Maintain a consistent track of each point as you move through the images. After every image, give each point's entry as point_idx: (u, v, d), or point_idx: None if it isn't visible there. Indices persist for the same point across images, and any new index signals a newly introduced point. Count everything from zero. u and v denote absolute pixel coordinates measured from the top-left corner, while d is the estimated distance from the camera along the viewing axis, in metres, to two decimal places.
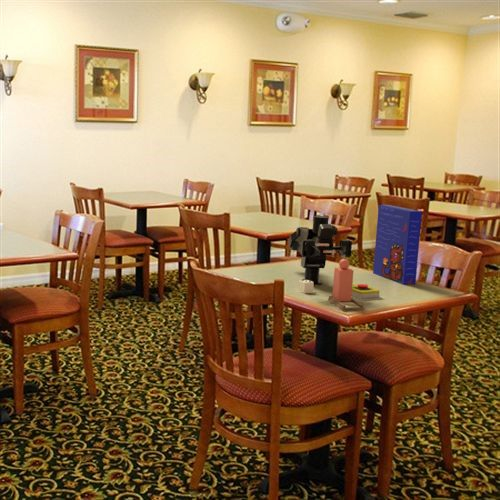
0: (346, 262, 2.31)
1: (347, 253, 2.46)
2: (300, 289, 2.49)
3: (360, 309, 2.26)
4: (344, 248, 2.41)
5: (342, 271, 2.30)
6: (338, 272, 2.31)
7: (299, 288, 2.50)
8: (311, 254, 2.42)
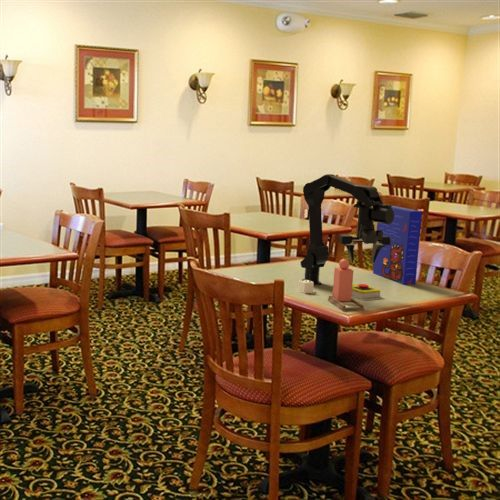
0: (346, 262, 2.31)
1: None
2: (300, 289, 2.49)
3: (360, 309, 2.26)
4: (376, 255, 2.46)
5: (342, 271, 2.30)
6: (338, 272, 2.31)
7: (299, 288, 2.50)
8: (347, 247, 2.47)
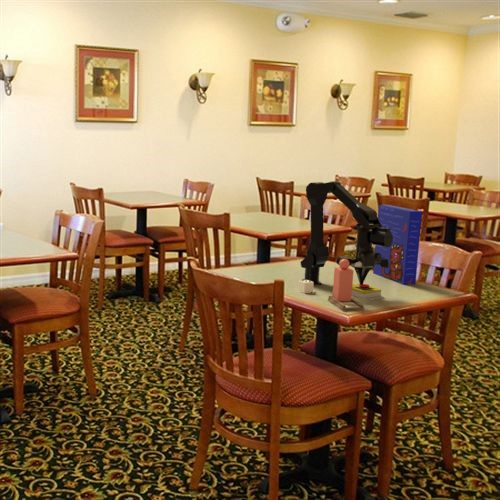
0: (346, 262, 2.31)
1: None
2: (300, 289, 2.49)
3: (360, 309, 2.26)
4: (364, 277, 2.47)
5: (342, 271, 2.30)
6: (338, 272, 2.31)
7: (299, 288, 2.50)
8: (355, 269, 2.49)
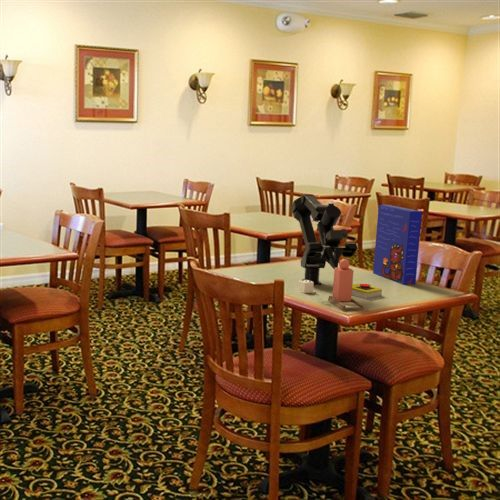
0: (346, 262, 2.31)
1: (339, 256, 2.45)
2: (300, 289, 2.49)
3: (360, 309, 2.26)
4: (337, 260, 2.41)
5: (342, 271, 2.30)
6: (338, 272, 2.31)
7: (299, 288, 2.50)
8: (326, 259, 2.44)
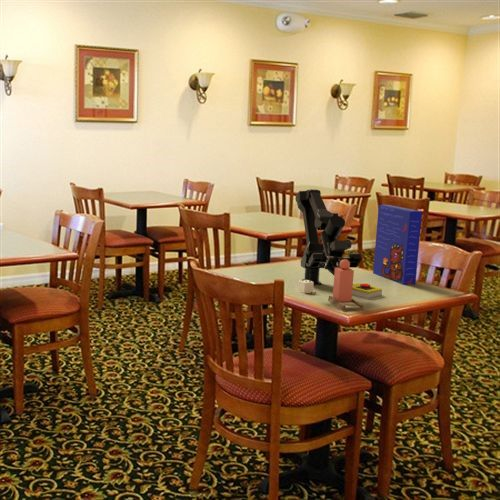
0: (346, 262, 2.31)
1: None
2: (300, 289, 2.49)
3: (360, 309, 2.26)
4: None
5: (342, 271, 2.30)
6: (338, 272, 2.31)
7: (299, 288, 2.50)
8: (330, 270, 2.40)
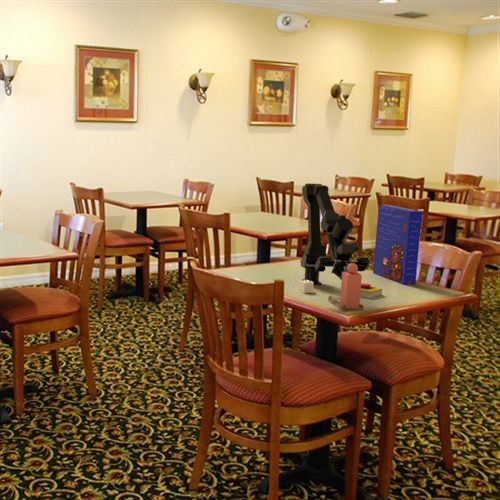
0: (354, 266, 2.24)
1: None
2: (300, 289, 2.49)
3: (360, 309, 2.26)
4: None
5: (350, 275, 2.24)
6: (346, 277, 2.25)
7: (299, 288, 2.50)
8: (337, 274, 2.34)
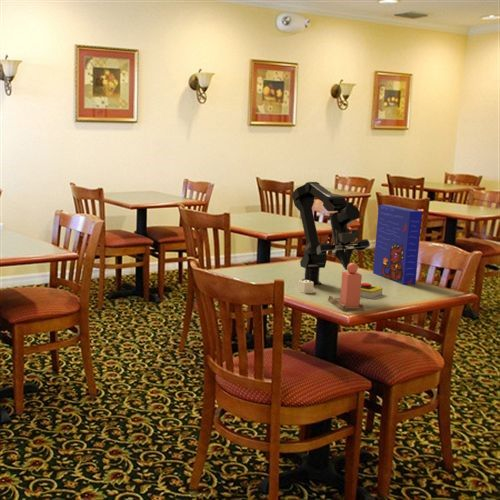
0: (354, 266, 2.24)
1: None
2: (300, 289, 2.49)
3: (360, 309, 2.26)
4: (348, 260, 2.41)
5: (350, 275, 2.24)
6: (346, 277, 2.25)
7: (299, 288, 2.50)
8: (338, 257, 2.44)
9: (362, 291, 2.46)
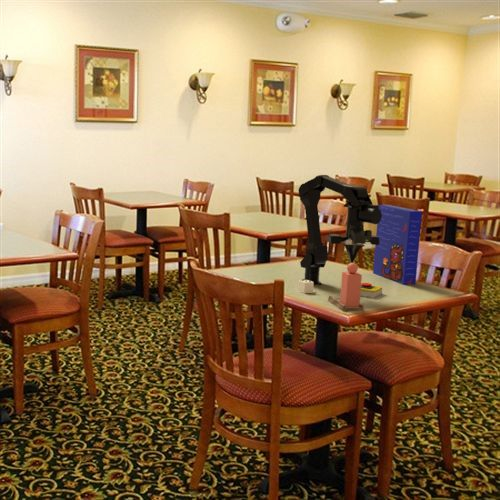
0: (354, 266, 2.24)
1: None
2: (300, 289, 2.49)
3: (360, 309, 2.26)
4: (355, 254, 2.46)
5: (350, 275, 2.24)
6: (346, 277, 2.25)
7: (299, 288, 2.50)
8: (346, 247, 2.48)
9: (363, 291, 2.46)
